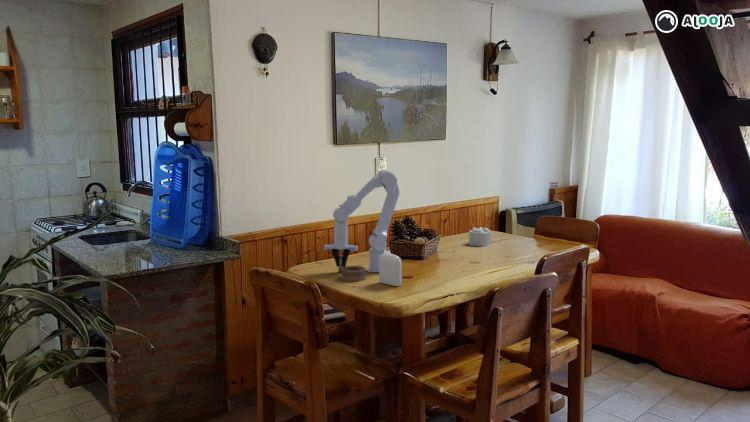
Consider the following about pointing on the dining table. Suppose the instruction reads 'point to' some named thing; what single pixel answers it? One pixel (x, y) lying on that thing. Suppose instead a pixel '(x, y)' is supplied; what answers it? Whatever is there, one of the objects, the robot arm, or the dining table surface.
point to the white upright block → (390, 269)
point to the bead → (353, 273)
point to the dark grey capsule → (340, 262)
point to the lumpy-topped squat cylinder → (480, 237)
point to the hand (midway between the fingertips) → (341, 266)
